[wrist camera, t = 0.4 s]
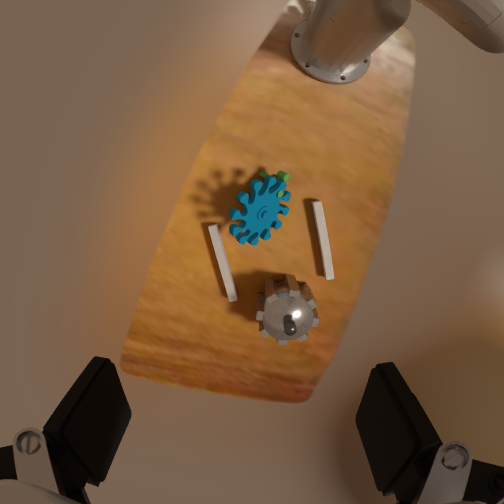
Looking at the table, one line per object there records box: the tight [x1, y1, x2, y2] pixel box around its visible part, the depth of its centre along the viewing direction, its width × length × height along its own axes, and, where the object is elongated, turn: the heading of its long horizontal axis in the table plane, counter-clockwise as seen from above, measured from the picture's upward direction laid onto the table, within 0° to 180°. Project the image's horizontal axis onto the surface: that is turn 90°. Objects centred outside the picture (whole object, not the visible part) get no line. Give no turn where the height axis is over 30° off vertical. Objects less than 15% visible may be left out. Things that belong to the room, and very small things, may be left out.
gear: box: [228, 171, 291, 245], centre depth 38 cm, size 11×6×10 cm
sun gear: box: [256, 274, 320, 346], centre depth 40 cm, size 9×9×9 cm
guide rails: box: [208, 200, 334, 302], centre depth 41 cm, size 12×16×2 cm
